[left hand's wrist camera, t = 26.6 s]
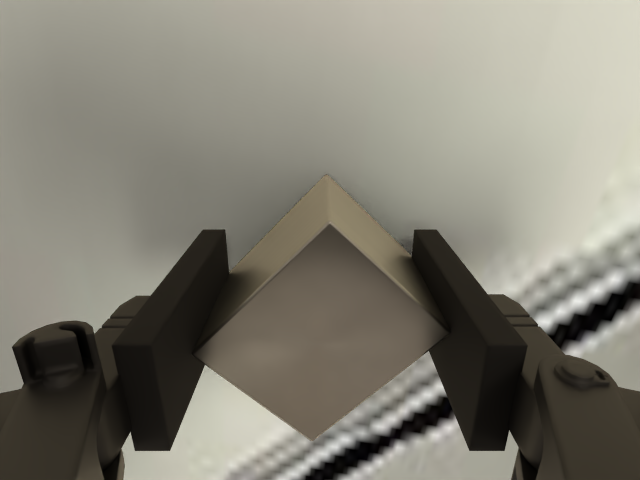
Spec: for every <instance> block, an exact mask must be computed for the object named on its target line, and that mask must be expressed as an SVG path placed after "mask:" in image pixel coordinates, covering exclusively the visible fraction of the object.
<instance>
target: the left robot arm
mask: <svg viewBox="0 0 640 480" xmlns="http://www.w3.org/2000/svg"><path fill="white" fill-rule="evenodd" d="M412 259H413V261H414V263H415V264H416V266H417V268H418V270H419V272H420V274H421V276H422V278H423V280H424V282H425V283H426V285H427V287H428V289H429V291H430V293H431V295H432V297H433V299H434V301H435V302H436V304H437V306H438V308H439V310H440V312H441V314H442V316H443V318H444V320H445V322H446V323H447V325H448V327H449V329H450V334H449V335H448V336H447V337H446V338H444V339H443V340H442V341H440V342H439V343H438V344H437V345H435V346H434V347H433V348H431V349H430V350H429V352H430V355H431V357H432V360H433V362H434V364H435V367H436V369H437V372H438V374H439V377H440V379H441V382H442V384H443V387H444V389H445V392H446V394H447V397H448V399H449V401H450V404H451V406H452V409H453V411H454V414H455V416H456V419H457V421H458V424H459V426H460V429H461V431H462V433H463V436H464V438H465V441H466V443H467V446H468V448H469V451H505V446H506V442H507V437H508V433H509V430H510V432H511V434H512V436H513V438H514V439H515V441H516V443H517V445H518V447H519V449H518V453H517V457H516V461H515V465H514V469H513V474H512V478H511V480H640V392H639V391H634V390H629V389H625V388H621V387H618V386H617V384H616V382H615V381H614V380H613V379H612V377H611V376H610V375H609V374H608V373H607V372H605V371H604V370H603V369H601V368H600V367H598V366H597V365H595V364H593V363H590V362H588V361H586V360H584V359H581V358H577V357H573V356H570V355H565V354H564V353H563V352H562V351H561V350H560V348H559V347H558V346H557V345H556V344H555V343H554V342H553V341H552V340H551V338H550V337H549V336H548V335H547V334H546V333H545V332H544V331H543V330H542V328H541V327H538V324H537V323H536V322H535V321H534V320H533V318H532V317H529V314H528V313H527V312H526V311H525V310H524V308H523V307H522V306H521V305H520V304H519V303H517V302H515V301H514V300H512V299H510V298H509V297H507V296H505V295H503V294H487V293H486V292H485V290H484V289H483V288H482V287H481V285H480V284H479V283H478V282H477V280H476V279H475V278H474V277H473V275H472V274H471V273H470V271H469V270H468V269H467V268H466V266H465V265H464V264H463V263H462V261H461V260H460V259H459V258H458V256H457V255H456V254H455V253H454V251H453V250H452V249H451V247H450V246H449V245H448V244H447V242H446V241H445V240H444V239H443V237H442V236H441V235H440V234H439V232H438V231H437V230H414V240H413V251H412ZM228 275H229V267H228V256H227V245H226V234H225V230H202V232H201V233H200V234H199V235H198V237H197V238H196V239H195V240H194V242H193V243H192V244H191V246H190V247H189V248H188V249H187V251H186V252H185V253H184V254H183V256H182V257H181V258H180V259H179V261H178V262H177V263H176V265H175V266H174V267H173V268H172V270H171V271H170V272H169V273H168V275H167V276H166V277H165V278H164V280H163V281H162V282H161V283H160V285H159V286H158V287H157V289H156V290H155V291H154V292H153V294H152V295H151V296H135V297H133V298H132V299H130V300H128V301H127V302H125V303H123V304H122V305H120V306H119V307H118V308H117V310H116V311H115V312H114V313H113V314H112V315H111V316H110V319H108V320H107V321H106V322H105V323H104V324H103V325H102V328H100V329H99V330H98V331H97V332H96V333H95V334H94V331H93V327H92V326H90V325H89V324H88V323H86V322H80V321H64V322H58V323H54V324H50V325H46V326H44V327H41V328H39V329H36V330H34V331H32V332H30V333H28V334H27V335H25V336H24V337H22V338H20V339H19V340H18V341H17V342H16V343H15V344H14V345H13V347H12V349H13V352H14V355H15V358H16V361H17V364H18V367H19V370H20V373H21V376H22V379H23V382H24V385H23V387H22V389H19V390H15V391H10V392H5V393H0V480H123V476H124V468H125V464H124V457H123V453H122V449H121V448H122V446H123V444H124V442H125V441H126V439H127V437H128V435H129V433H130V431H131V435H132V439H133V444H134V448H135V451H170V450H171V447H172V445H173V442H174V440H175V437H176V435H177V432H178V430H179V427H180V425H181V422H182V420H183V418H184V415H185V413H186V410H187V408H188V405H189V403H190V400H191V398H192V395H193V393H194V390H195V388H196V385H197V383H198V381H199V378H200V376H201V373H202V371H203V368H204V366H205V364H204V363H202V362H201V361H199V360H198V359H197V358H195V357H194V356H193V355H192V351H193V349H194V347H195V345H196V343H197V341H198V339H199V336H200V334H201V332H202V330H203V328H204V326H205V324H206V322H207V320H208V317H209V315H210V313H211V311H212V309H213V307H214V305H215V303H216V300H217V298H218V296H219V294H220V292H221V290H222V288H223V286H224V284H225V281H226V279H227V277H228Z"/></svg>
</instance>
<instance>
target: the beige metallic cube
mask: <svg viewBox="0 0 640 480" xmlns="http://www.w3.org/2000/svg"><path fill="white" fill-rule="evenodd" d="M449 334H450V329H449V327H448V325H447V323H446V322H445V320H444V318H443V316H442V314H441V312H440V310H439V308H438V306H437V304H436V302H435V301H434V299H433V297H432V295H431V293H430V291H429V289H428V287H427V285H426V283H425V282H424V280H423V278H422V276H421V274H420V272H419V270H418V268H417V266H416V264H415V263H414V261H413V259H412V257H411V255H410V254H409V253H408V252H407V251H406V250H405V249H404V248H403V247H402V246H401V245H400V244H399V243H398V242H397V241H396V240H395V239H394V238H393V237H392V236H390V235H389V234H388V233H387V232H386V231H385V230H384V229H383V228H382V227H381V226H380V225H379V224H378V223H377V222H376V221H375V220H374V219H373V218H372V217H371V216H370V215H369V214H368V213H367V212H366V211H365V210H364V209H363V208H362V207H361V206H359V205H358V204H357V203H356V202H355V201H354V200H353V199H352V198H351V197H350V196H349V195H348V194H347V193H346V192H345V191H344V190H343V189H342V188H341V187H340V186H339V185H338V184H337V183H336V182H335V181H334V180H333V179H332V178H331V177H330V176H329V175H325V176H324V177H323V178H322V179H321V180H320V181H319V182H318V183H317V184H316V185H315V186H314V187H313V188H312V189H311V190H310V191H309V192H308V193H307V194H306V195H305V196H304V197H303V198H302V199H301V200H300V201H299V202H298V203H297V204H296V205H295V206H294V207H293V208H292V209H291V210H290V211H289V212H288V213H287V214H286V215H285V216H284V217H283V218H282V219H281V220H280V221H279V222H278V223H277V224H276V225H275V226H274V227H273V228H272V229H271V230H270V231H269V232H268V233H267V234H266V235H265V236H264V237H263V238H262V239H261V241H260V242H259V243H258V244H257V245H256V246H255V247H254V248H253V249H252V250H251V251H250V252H249V253H248V254H247V255H246V256H245V257H244V258H243V259H242V260H241V261H240V262H239V263H238V264H237V265H236V266H235V267H234V268H233V269H232V270H231V271H230V273H229V275H228V277H227V279H226V281H225V284H224V286H223V288H222V290H221V292H220V294H219V296H218V298H217V300H216V303H215V305H214V307H213V309H212V311H211V313H210V315H209V317H208V320H207V322H206V324H205V326H204V328H203V330H202V332H201V334H200V336H199V339H198V341H197V343H196V345H195V347H194V349H193V351H192V355H193V356H194V357H195V358H197V359H198V360H199V361H201V362H202V363H204V364H205V365H206V366H208V367H209V368H211V369H212V370H213V371H215V372H216V373H217V374H219V375H220V376H222V377H223V378H224V379H226V380H227V381H229V382H230V383H231V384H233V385H234V386H235V387H237V388H238V389H240V390H241V391H242V392H244V393H245V394H247V395H248V396H249V397H251V398H252V399H253V400H255V401H256V402H258V403H259V404H260V405H262V406H263V407H265V408H266V409H267V410H269V411H270V412H271V413H273V414H274V415H276V416H277V417H278V418H280V419H281V420H283V421H284V422H285V423H287V424H288V425H289V426H291V427H292V428H294V429H295V430H296V431H298V432H299V433H300V434H302V435H303V436H305V437H306V438H307V439H309V440H310V441H313V440H315V439H316V438H317V437H318V436H320V435H321V434H322V433H324V432H325V431H326V430H327V429H329V428H330V427H331V426H333V425H334V424H335V423H336V422H338V421H339V420H340V419H342V418H343V417H344V416H345V415H347V414H348V413H349V412H351V411H352V410H353V409H354V408H356V407H357V406H358V405H360V404H361V403H362V402H363V401H365V400H366V399H367V398H369V397H370V396H371V395H372V394H374V393H375V392H376V391H378V390H379V389H380V388H381V387H383V386H384V385H385V384H387V383H388V382H389V381H390V380H392V379H393V378H394V377H396V376H397V375H398V374H399V373H401V372H402V371H403V370H405V369H406V368H407V367H408V366H410V365H411V364H412V363H413V362H415V361H416V360H417V359H419V358H420V357H421V356H422V355H424V354H425V353H426V352H428V351H429V350H430V349H431V348H433V347H434V346H435V345H437V344H438V343H439V342H440V341H442V340H443V339H444V338H446V337H447V336H448V335H449Z"/></svg>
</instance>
